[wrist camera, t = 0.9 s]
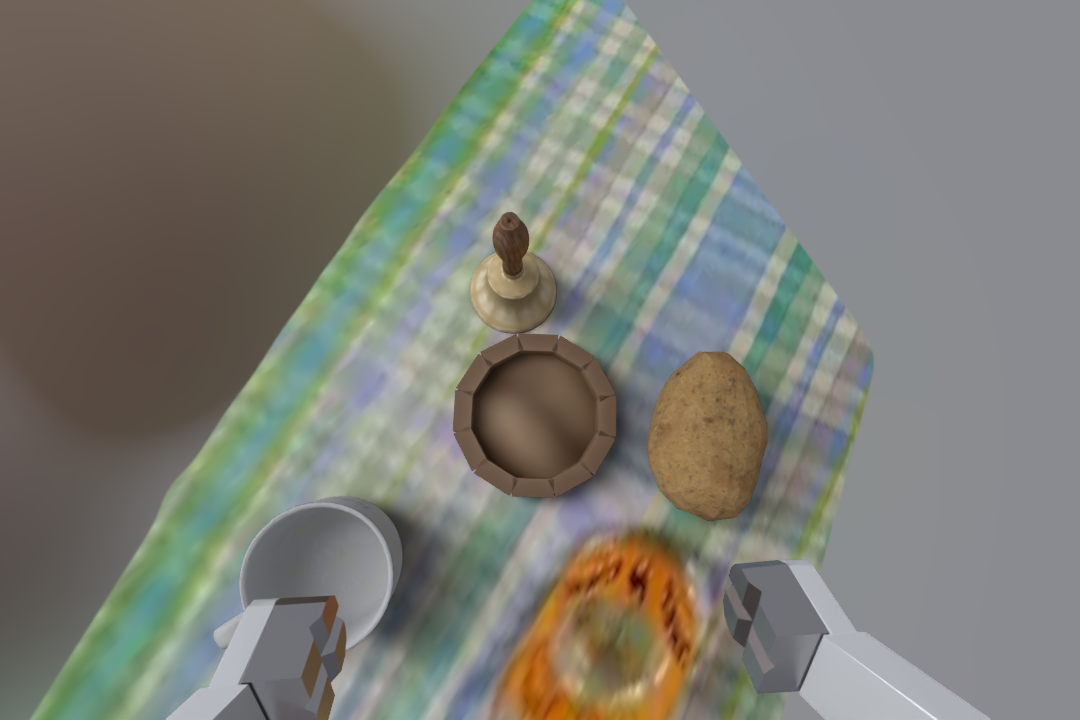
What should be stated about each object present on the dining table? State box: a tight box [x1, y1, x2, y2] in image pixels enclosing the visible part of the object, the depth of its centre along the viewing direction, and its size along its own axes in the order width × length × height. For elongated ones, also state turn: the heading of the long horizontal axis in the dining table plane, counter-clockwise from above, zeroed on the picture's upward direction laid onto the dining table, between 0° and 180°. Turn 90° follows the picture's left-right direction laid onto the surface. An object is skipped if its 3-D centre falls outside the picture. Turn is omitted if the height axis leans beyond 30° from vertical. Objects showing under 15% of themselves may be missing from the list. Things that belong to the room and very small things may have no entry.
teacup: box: [214, 496, 403, 651], centre depth 39 cm, size 14×11×8 cm
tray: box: [453, 333, 616, 498], centre depth 45 cm, size 14×14×3 cm
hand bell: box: [470, 212, 557, 333], centre depth 40 cm, size 8×8×16 cm
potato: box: [647, 352, 767, 521], centre depth 43 cm, size 10×14×8 cm
